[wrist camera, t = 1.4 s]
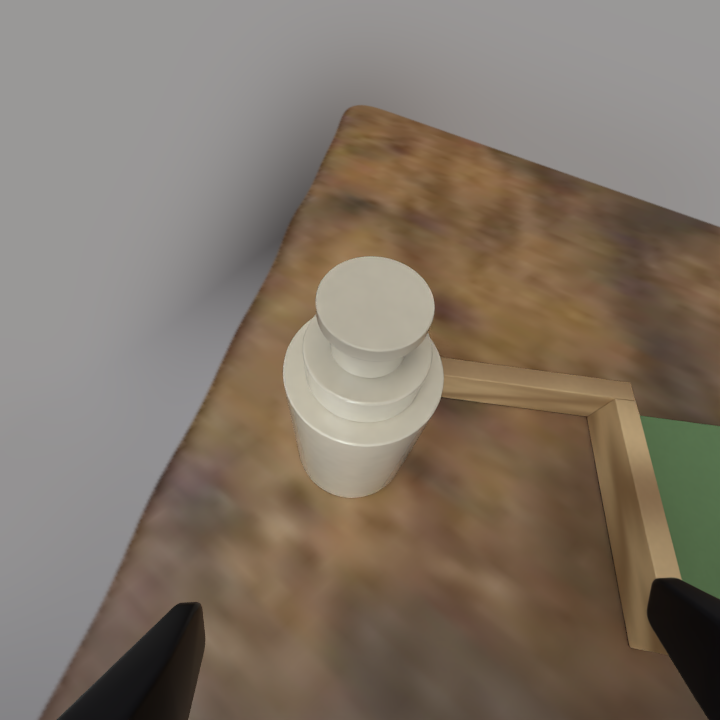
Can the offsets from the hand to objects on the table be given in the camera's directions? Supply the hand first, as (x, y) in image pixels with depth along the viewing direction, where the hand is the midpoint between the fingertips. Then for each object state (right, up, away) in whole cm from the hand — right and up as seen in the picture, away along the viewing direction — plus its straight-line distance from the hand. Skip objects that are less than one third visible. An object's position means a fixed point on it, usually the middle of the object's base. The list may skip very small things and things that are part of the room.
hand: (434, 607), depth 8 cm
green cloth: (+18, -4, +14) cm, 23 cm away
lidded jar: (-2, 0, +15) cm, 15 cm away
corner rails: (+8, -3, +14) cm, 16 cm away
